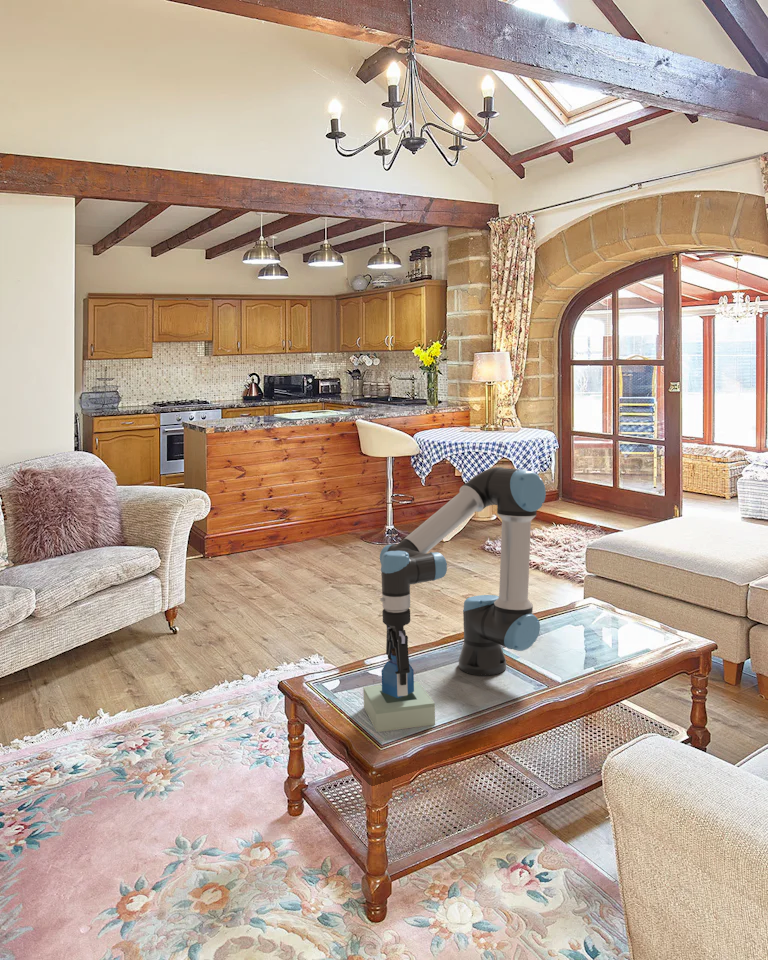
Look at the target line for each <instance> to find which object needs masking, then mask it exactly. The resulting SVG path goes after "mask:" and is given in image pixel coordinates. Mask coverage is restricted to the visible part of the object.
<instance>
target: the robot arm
mask: <svg viewBox="0 0 768 960" xmlns="http://www.w3.org/2000/svg"><path fill="white" fill-rule="evenodd" d="M546 494H547V491H546V486H545V483H544V481H543V479H542V478H541V477H540V476H539V474H538V473H536V472H534V471H530V470H526V469H521V468H520V469H519V468H510V467H509V468H508V467H503V466H502V467H501V466H496V467H491V468H489V469H486V470H484V471H482V472H480V473H478V474H477V475H475V476H474V477H471V479H469V480H468V481H466V482H465V483H464V484H463V485H462V486H460V488H459V492H458V493H457V494H456V495H455V496H453V498H451V499H450V500H449V501H447V502H446V504H444V505H443V506H441V507H440V508H439V509H438V510H436V512H435V513H433V514H432V515H431V516H429V518H427V519H426V520H425V521H423V522H422V523H421V524H420V525H419V526H418V527H416V528H415V529H414V530H413V531H411V532H410V533H409V534H408V535H406V537H404V538H403V539H402V540H401V541H400V542H398V543H397V544H393V543H392V544H387V545H385V546H384V547H383V548H382V549H381V550H380V553H379V562H380V564H381V565H380V573H381V596H382V597H381V598H380V599H379V600H380V602H382V603H381V604H382V623H383V625H386V644H385V645H386V648H385V651H386V652H385V653H386V655H387V659H388V661H390V660H392V658H391V653H392V651H391V649H393V648H395V652H396V660H397V668H398V671H397V672H395V673H396V674H397V696H406V695H408V685H407V673H409V672H410V669H409V664H410V659H409V657H410V656H409V635H407V634H406V630H405V628H404V627H405V626H406V625H409V624H410V622H411V609H410V608H411V592H410V591H411V585H416V584H421V583H427V582H431V581H433V582H434V581H436V580H440V579H442V578H444V577H445V576H446V574H447V571H448V564H447V563H448V561H447V560H446V558H445V556H444V555H443V554H442V553H440V552H439V551H438V552H437V551H435V552H431V550H432V549H433V548H435V547H436V546H437V545H438V544H439V543H440V542H441V541H442V540H444V539H445V538H446V537H447V536H449V534H451V533H452V532H453V531H454V530H456V529H457V528H458V527H459V526H461V524H462V523H464V522H465V521H466V520H467V519H468V518H469V517H471V516H472V515H473V514H474V513H475V512H477V513H479V512H482V511H483V510H484V509H486V508H487V507H489V506H497V507H496V509H497V510H496V514H497V516H498V517H499V518H500V520H501V537H500V538H501V540H500V564H499V568H500V569H499V588H498V589H499V592H498V595H494V594H482V595H474V596H470V597H468V598H466V599H465V600H464V603H463V610H462V612H463V616H462V617H463V645H462V647H461V652H460V654H459V658H458V668H459V670H461V671H462V672H463V673H467V674H468V675H474V676H495V675H498V674H502V673H503V672H505V671H506V669H507V660H506V656H505V654H504V650H503V648H502V646H503V647H505V648H506V649H509V650H513V651H516V652H524V651H525V650H528V649H530V648H531V647H532V646H533V644H534V643H535V642H537V639H538V638H539V634H540V631H541V623H540V620H539V619H538V617H537V616H536V615H534V614H533V603H532V602H531V601H530V600H529V579H530V578H529V577H530V576H529V575H530V555H531V553H530V552H531V529H532V528H531V526H532V520H533V519H535V518H536V517H537V512H538V510H540V509H541V508H542V506H543V504H544V503H545V500H546V496H547V495H546ZM388 661H387V662H388ZM504 670H505V671H504Z"/></svg>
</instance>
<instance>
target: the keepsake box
mask: <svg viewBox="0 0 768 960" xmlns="http://www.w3.org/2000/svg"><path fill="white" fill-rule="evenodd" d="M362 689H363V690H362V691H363V708H365V709H364V711H365V712H366V714H367V716H368V718H369V720H370V722H371V723H372V726H373V728H374V730H375V731H376V732H375V733H381V732H390V731H396V730H405V729H411V728H419V727H421V728H422V727H428V726H435V725H436V713H435V712H436V711H435V710H436V708H435V707H436V706H435V705H436V703H435V701H434V700H433V699H432V698H431V696H430V695H429V694H428V692H427V691H426V689H425V687H423V686H422V684H421V683H420V682H419V680H414V692H412V693H410V694H408V695H406V696H403V697H401V698H396V697H393V696H390V695H388V694H385V693H383V692H382V684H380V685H372V686H371V685H370V686H363V688H362Z"/></svg>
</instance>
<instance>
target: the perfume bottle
mask: <svg viewBox="0 0 768 960" xmlns="http://www.w3.org/2000/svg"><path fill="white" fill-rule="evenodd" d="M391 651H392V653H391V658H392V660H390V659H389V660H390V661H386V663H385V664H384V666H383V667H382V669H381V685H382V692H383V693H385V694H388V695H390V696H393V697H396V698H401V697H403V696H397V674H396V673H395V672H397V671H398V668H397V660H396V652H395V648H393V649H391ZM409 669H410V672H409V673H407V685H408V694H410V693H412V692H414V681H415V675H414V674H415V673H414V668H413V667H412V665H411V664H410V663H409Z"/></svg>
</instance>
